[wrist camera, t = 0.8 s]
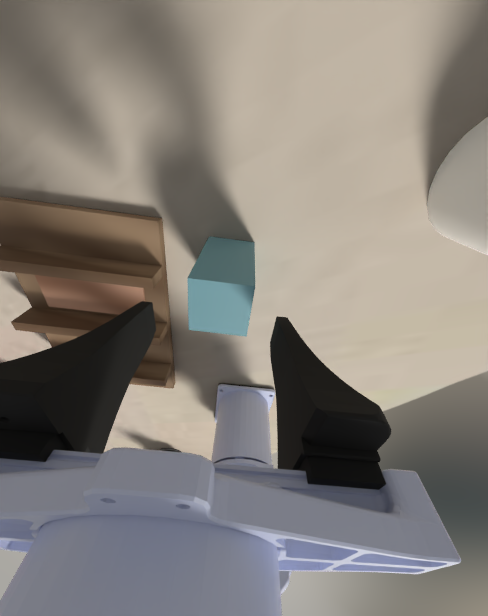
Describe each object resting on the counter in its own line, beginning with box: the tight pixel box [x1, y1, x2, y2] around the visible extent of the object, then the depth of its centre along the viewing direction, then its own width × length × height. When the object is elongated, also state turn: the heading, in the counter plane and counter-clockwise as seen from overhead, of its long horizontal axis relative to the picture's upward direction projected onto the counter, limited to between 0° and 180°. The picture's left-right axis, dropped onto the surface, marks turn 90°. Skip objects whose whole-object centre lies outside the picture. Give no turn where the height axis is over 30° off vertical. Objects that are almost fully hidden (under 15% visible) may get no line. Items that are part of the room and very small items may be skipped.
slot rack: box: [0, 197, 175, 388], centre depth 24 cm, size 22×14×4 cm, turn 173°
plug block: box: [188, 236, 255, 336], centre depth 18 cm, size 4×4×8 cm
